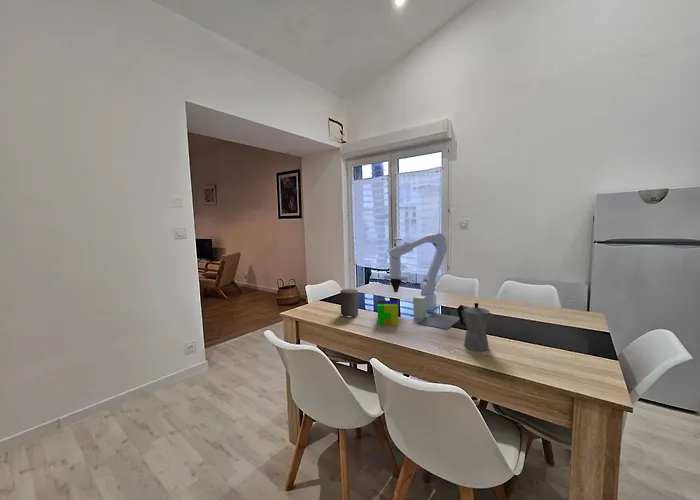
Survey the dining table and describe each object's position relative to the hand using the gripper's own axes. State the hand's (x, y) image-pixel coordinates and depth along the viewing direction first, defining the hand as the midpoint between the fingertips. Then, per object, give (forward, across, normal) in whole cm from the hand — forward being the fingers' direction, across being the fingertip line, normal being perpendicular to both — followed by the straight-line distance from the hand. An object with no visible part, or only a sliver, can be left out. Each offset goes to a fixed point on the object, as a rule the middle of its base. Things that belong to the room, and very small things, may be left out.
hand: (396, 291), depth 175 cm
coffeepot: (+11, +52, -28) cm, 60 cm away
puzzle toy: (+11, +8, -22) cm, 25 cm away
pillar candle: (+11, -16, -23) cm, 30 cm away
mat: (+10, +29, -6) cm, 31 cm away
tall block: (+10, +18, -6) cm, 21 cm away
